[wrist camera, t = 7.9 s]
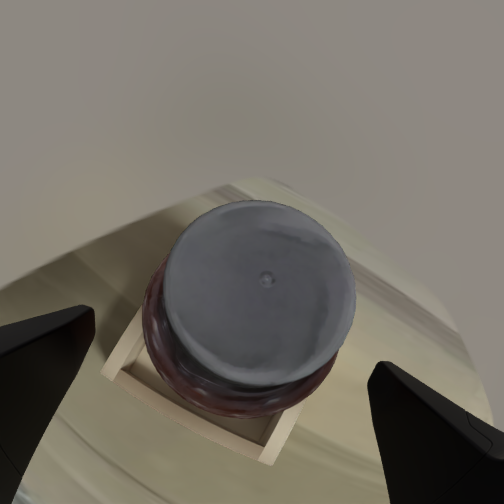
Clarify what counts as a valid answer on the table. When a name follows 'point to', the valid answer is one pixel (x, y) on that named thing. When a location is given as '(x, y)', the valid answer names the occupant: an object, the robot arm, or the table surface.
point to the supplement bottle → (249, 309)
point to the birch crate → (179, 410)
